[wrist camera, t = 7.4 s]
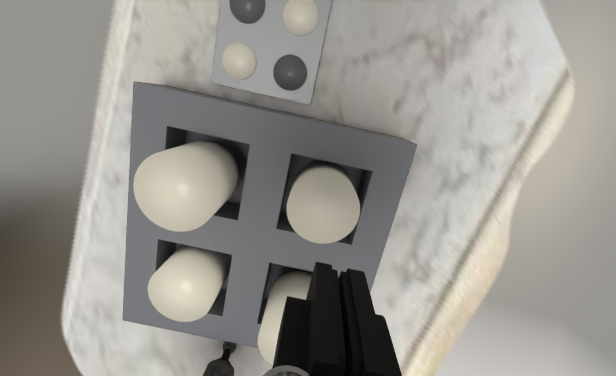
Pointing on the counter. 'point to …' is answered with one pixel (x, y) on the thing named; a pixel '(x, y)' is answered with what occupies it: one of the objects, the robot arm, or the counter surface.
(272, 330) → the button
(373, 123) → the counter surface
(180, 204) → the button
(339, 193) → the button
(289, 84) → the tile
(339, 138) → the board
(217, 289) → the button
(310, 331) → the robot arm
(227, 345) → the microphone
